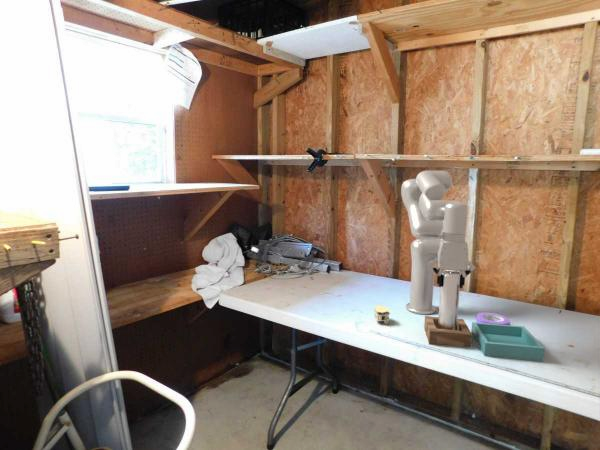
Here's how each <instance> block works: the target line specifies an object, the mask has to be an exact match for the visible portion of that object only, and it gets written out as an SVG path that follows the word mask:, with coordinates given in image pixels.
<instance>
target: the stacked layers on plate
mask: <svg viewBox="0 0 600 450" xmlns="http://www.w3.org/2000/svg"><path fill="white" fill-rule="evenodd" d="M373 307H374V310H373V311H374V314H373V316H374V319H375V320H376V321H377V322H378V323H380V322H383V324H389V320H390V317H389V316H390V314H391V313H390V311H391V310H390V308H389V307H387V306H384V305H376V306H374V305H373Z"/></svg>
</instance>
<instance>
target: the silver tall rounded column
mask: <svg viewBox="0 0 600 450" xmlns="http://www.w3.org/2000/svg"><path fill="white" fill-rule="evenodd" d="M460 280H461V273H460V271H457V270H444V271H443V272H442V287H440V291H439V302H438V303H439V305H438V316H437V317H438V329H447V330H457V319H458V315H459V303H460V302H459V301H460V291H461V288H460Z"/></svg>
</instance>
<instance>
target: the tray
mask: <svg viewBox="0 0 600 450" xmlns="http://www.w3.org/2000/svg"><path fill="white" fill-rule="evenodd" d="M470 329H471V330H470V332H471V333H472V338H473V339H474V341H475V343H476V345H477V346H478V347H479V350H480V351H481V352H482V355H483V356H484V357H492V358H505V359H516V360H525V361H536V362H544V357H545V349H546V348H545V347H544V346H543V345H542V344H541V342H539V341H538V339H536V337H535V336H534V335H533V334H532V333H531V331H529V330H528V328H526V327H525V326H524V325H511V324H509V325H501V324H489V323H477V321H473V322H471V328H470Z"/></svg>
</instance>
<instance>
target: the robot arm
mask: <svg viewBox="0 0 600 450" xmlns="http://www.w3.org/2000/svg"><path fill="white" fill-rule="evenodd" d="M452 186H453V178H452V175H451V174H450V172H448V171H446V170H423V171H421V172H419V173H418V174H417V175H416V178H409V179H407V180H405V181H403V182H402V184H401V188H400V194H401V199H402V202H403V204H404V206H405V208H406V209H405V210H406V211H407V215H408V220H409V227H410V232H411V234H412V236H413V237H414V238H416V239H414V240H413V241H412V242H411V244H410V256H411V276H410V294H409V295H410V296H409V302H407V303H406V304H405V309H406V310H407V311H409V312H411V313H414V314H419V315H431V314H434V313H436V309H437V308H436V307H435V306H434V305H433V299H434V285H435V284H434V283H435V274H436V275H437V276H436V284H437V285H438V287H439V288H441V287H442V273H443V272H444V271H446V270H452V271H457V272H459V273H460V275H461V280H460V289H463V287H464V286H465V285H466V283H465V282H466V281H465V280H466V278H467V276H469V274H471V273H472V272H473V271H474V270H475V269H476V268H477V267H476V266H475V265H474V264H473V263H472V262H471V261H470V260H469V244H468V242H467V241H466V237H467V236H466V235H467V222H468V205H467V204H466V203H462V202H460V201H458V200H448V199H447V200H443V198H444V197H445V195H446V193H447V192H448V191H450V189H451V188H452ZM435 265H437V267H436V266H435ZM437 268H438V269H437Z"/></svg>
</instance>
